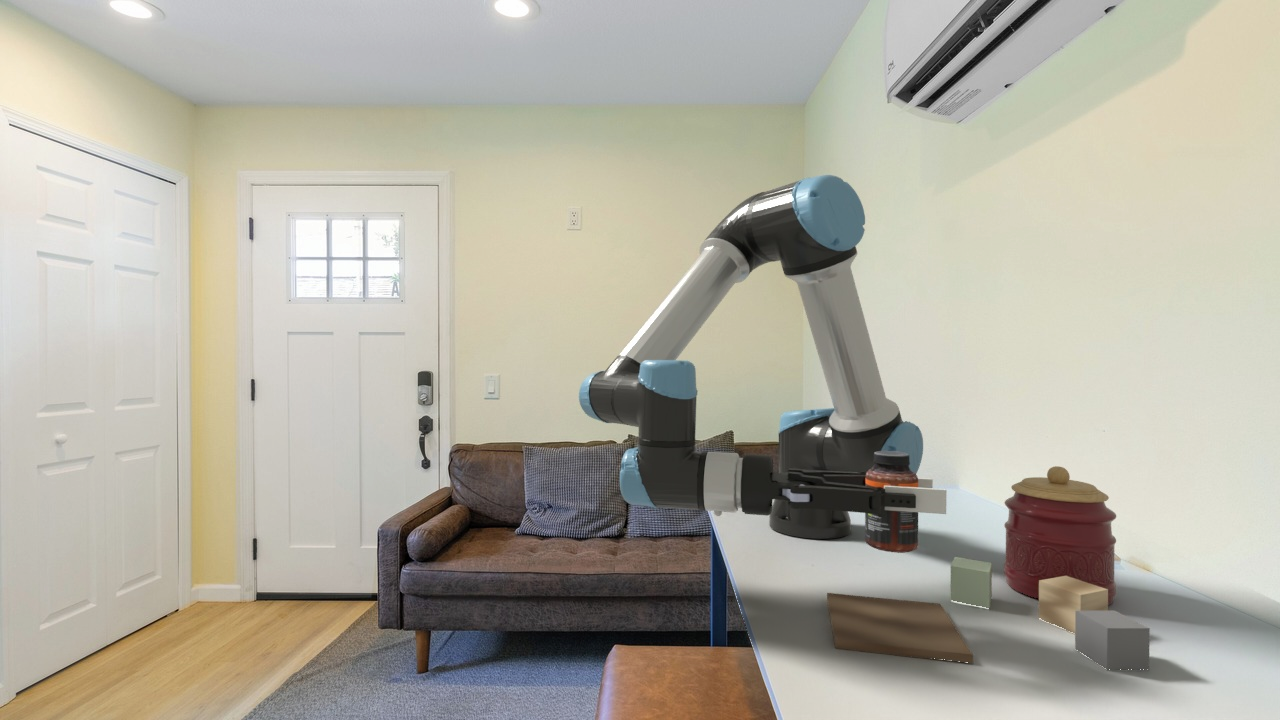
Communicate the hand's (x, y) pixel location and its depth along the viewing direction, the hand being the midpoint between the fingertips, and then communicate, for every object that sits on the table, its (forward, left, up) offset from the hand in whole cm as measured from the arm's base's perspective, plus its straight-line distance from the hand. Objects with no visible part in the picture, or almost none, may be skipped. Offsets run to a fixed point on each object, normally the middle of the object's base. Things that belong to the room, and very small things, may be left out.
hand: (937, 495), depth 71 cm
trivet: (0, -5, -16) cm, 17 cm away
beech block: (-7, +17, -17) cm, 25 cm away
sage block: (-12, +7, -16) cm, 22 cm away
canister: (-19, +20, -17) cm, 32 cm away
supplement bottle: (0, -5, -7) cm, 8 cm away
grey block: (+2, +17, -17) cm, 24 cm away
